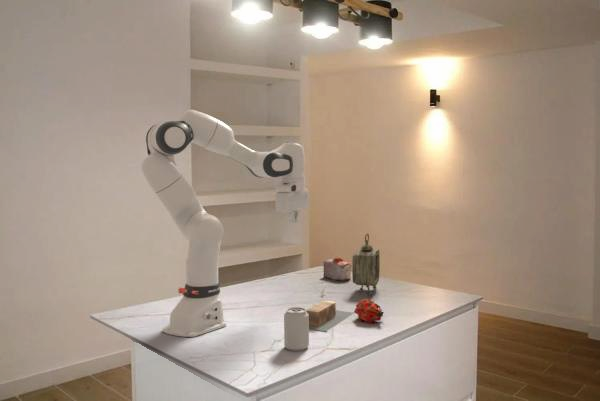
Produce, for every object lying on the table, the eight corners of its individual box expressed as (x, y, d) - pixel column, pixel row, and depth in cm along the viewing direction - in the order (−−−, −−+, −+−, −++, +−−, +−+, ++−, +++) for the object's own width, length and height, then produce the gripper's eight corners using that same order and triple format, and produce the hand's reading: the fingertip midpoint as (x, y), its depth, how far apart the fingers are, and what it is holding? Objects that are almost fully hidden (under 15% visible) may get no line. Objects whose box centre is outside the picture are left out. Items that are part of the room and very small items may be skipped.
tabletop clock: (373, 296, 231) (373, 236, 229) (351, 295, 234) (351, 235, 232) (379, 288, 245) (379, 231, 242) (359, 287, 248) (359, 230, 245)
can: (308, 343, 176) (308, 305, 175) (309, 351, 169) (309, 312, 168) (284, 343, 176) (283, 306, 175) (284, 352, 168) (284, 313, 167)
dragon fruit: (357, 321, 204) (381, 334, 194) (344, 311, 199) (368, 324, 189) (369, 301, 205) (393, 313, 196) (357, 290, 200) (381, 302, 191)
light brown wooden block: (335, 315, 204) (318, 326, 191) (323, 313, 206) (305, 324, 194) (335, 302, 203) (318, 312, 191) (323, 300, 206) (305, 310, 193)
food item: (354, 279, 263) (354, 258, 262) (343, 282, 257) (343, 261, 256) (331, 275, 272) (331, 255, 271) (320, 278, 266) (320, 257, 266)
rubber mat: (326, 332, 186) (326, 331, 186) (289, 326, 193) (289, 325, 193) (354, 313, 207) (354, 312, 207) (320, 308, 214) (320, 307, 214)
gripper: (299, 184, 221) (299, 219, 222) (272, 187, 203) (272, 225, 204) (313, 184, 218) (313, 220, 219) (287, 187, 200) (288, 226, 201)
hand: (293, 222), depth 212 cm, fingers closed
